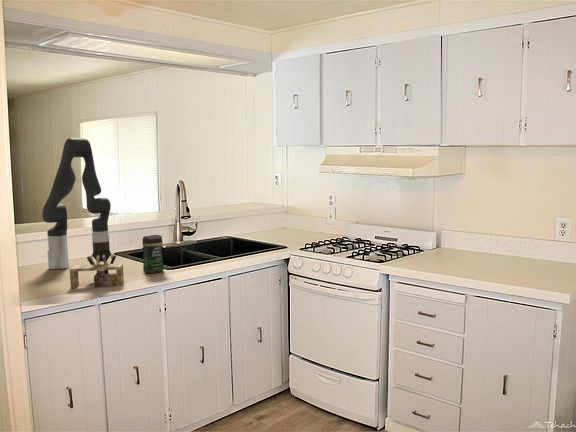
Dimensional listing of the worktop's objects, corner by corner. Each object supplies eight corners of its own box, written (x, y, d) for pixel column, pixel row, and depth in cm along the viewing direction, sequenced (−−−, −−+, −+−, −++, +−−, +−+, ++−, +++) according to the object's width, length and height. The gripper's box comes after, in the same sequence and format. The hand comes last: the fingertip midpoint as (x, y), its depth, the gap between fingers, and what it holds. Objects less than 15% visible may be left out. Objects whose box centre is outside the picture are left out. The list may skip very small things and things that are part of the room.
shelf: (70, 288, 245) (69, 269, 244) (74, 284, 252) (73, 265, 250) (121, 285, 248) (120, 266, 247) (123, 281, 255) (122, 263, 254)
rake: (94, 287, 246) (93, 276, 245) (102, 276, 265) (102, 266, 265) (111, 286, 247) (111, 275, 246) (118, 275, 266) (118, 265, 266)
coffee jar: (148, 274, 268) (146, 237, 266) (141, 272, 274) (139, 235, 272) (166, 271, 274) (164, 235, 272) (158, 269, 280) (157, 233, 278)
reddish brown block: (104, 285, 249) (104, 275, 248) (106, 282, 253) (105, 273, 253) (116, 284, 250) (115, 275, 249) (117, 282, 254) (116, 272, 254)
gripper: (83, 242, 253) (85, 279, 255) (114, 241, 254) (116, 277, 257) (87, 239, 260) (89, 275, 262) (117, 238, 262) (119, 273, 264)
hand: (102, 276), depth 259 cm, fingers closed on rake, 2 cm apart
